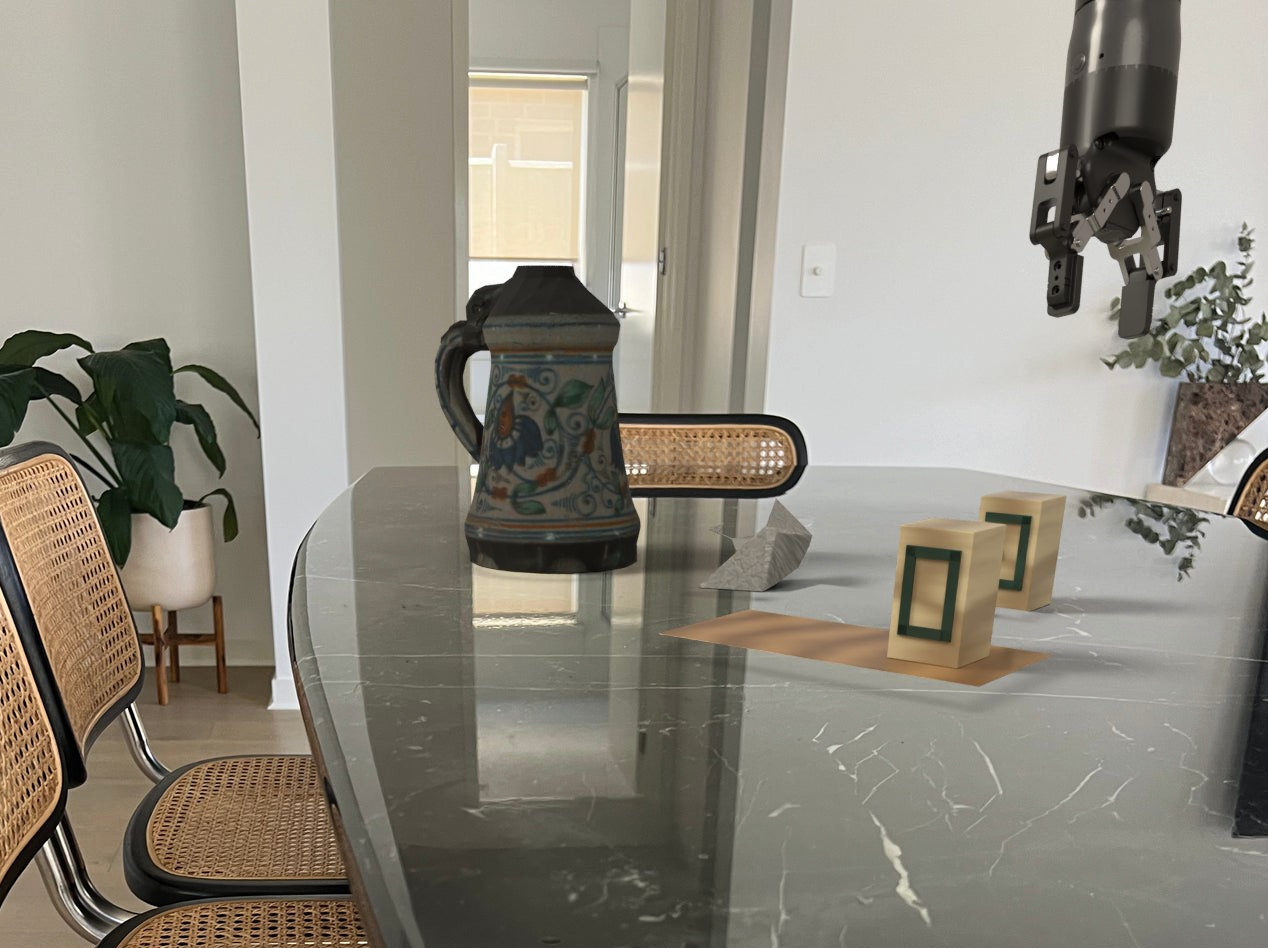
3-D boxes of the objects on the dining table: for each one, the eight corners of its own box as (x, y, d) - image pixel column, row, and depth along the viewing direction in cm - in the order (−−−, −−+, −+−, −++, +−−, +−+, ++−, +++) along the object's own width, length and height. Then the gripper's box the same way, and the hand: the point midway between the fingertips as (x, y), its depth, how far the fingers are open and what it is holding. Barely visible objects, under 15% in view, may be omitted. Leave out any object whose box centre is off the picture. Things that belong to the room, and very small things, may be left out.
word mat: (1051, 666, 98) (1053, 654, 98) (977, 699, 90) (978, 686, 90) (747, 619, 112) (748, 609, 112) (657, 644, 104) (657, 632, 103)
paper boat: (757, 585, 119) (666, 543, 123) (758, 639, 125) (670, 598, 129) (838, 494, 123) (747, 457, 127) (835, 551, 129) (748, 514, 132)
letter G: (1050, 603, 119) (1067, 495, 116) (1025, 613, 116) (1041, 501, 112) (992, 596, 122) (1006, 490, 119) (966, 605, 118) (979, 495, 115)
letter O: (989, 656, 97) (1007, 524, 94) (955, 669, 94) (973, 532, 90) (920, 645, 100) (935, 517, 97) (884, 658, 96) (898, 525, 93)
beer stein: (643, 575, 130) (653, 264, 120) (425, 572, 130) (417, 262, 120) (636, 547, 145) (645, 269, 135) (441, 545, 145) (435, 267, 135)
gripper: (1107, 34, 96) (1084, 296, 98) (1226, 93, 104) (1202, 334, 107) (1012, 73, 102) (993, 319, 104) (1131, 126, 110) (1111, 353, 113)
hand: (1099, 326), depth 106 cm, fingers open, 8 cm apart
